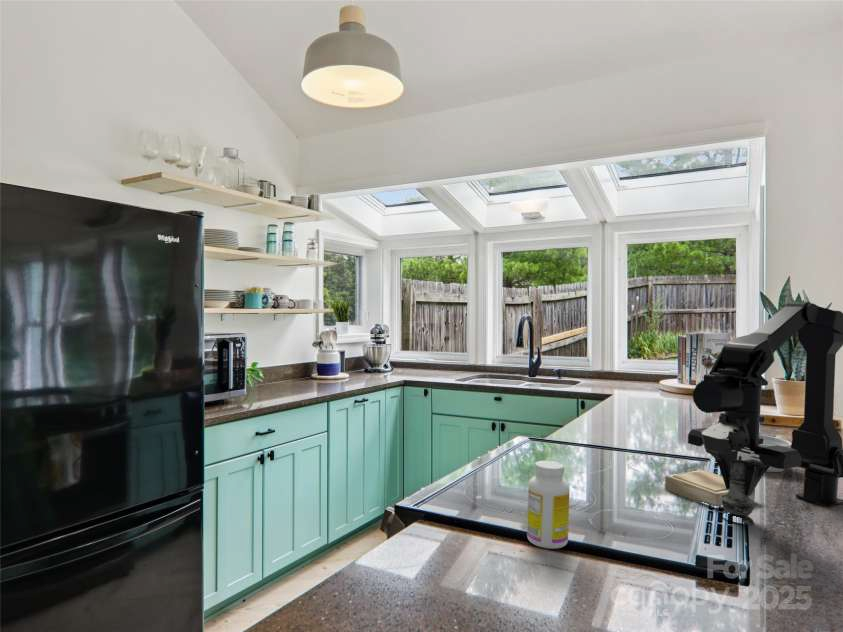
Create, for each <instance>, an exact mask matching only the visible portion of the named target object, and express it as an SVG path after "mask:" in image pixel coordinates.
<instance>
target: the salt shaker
mask: <svg viewBox="0 0 843 632" xmlns="http://www.w3.org/2000/svg"><path fill="white" fill-rule="evenodd" d="M738 458H739V459H737V460H734V461H732V462H731V473H730V477H728V479H729V480H730V484H729V492H728V494H725V495H722V496H720V498H721V500H722V504H723V507H724V510H726V512H730V515H732V516H736V517H740V518H742V521H743V522H745V523H747V524H746V525H752V524H754V520H753V519H752V517H750V516H749V515H751V514H752V513H753V511H754V509H755V506H756V505H757V502H756V501H755V500H752V499H750V498H749V496H746V495H745V478H746V467H745V465H744V463H743V460H741V458H742V457H741V456H739V457H738ZM751 523H752V524H751Z"/></svg>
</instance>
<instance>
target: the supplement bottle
mask: <svg viewBox="0 0 843 632" xmlns="http://www.w3.org/2000/svg"><path fill="white" fill-rule="evenodd" d="M534 472H535V476H533V477H532V478H531V479H529V481H528V488H527V490H528V491H527V492H528V493H527V514H526V515H527V519H526V521H527V522H526V537H527V539H528V541H529V543H530V544H533V545H535V546H537V547H539V548H543V549H551V550H555V549H561V548H564V547H565V546H566V545H567V544H568V542H569V523H570V520H569V519H570V484H569V483H568V482H567V480H566V479H564V478H563V475H564V474H565V465H564V464H562V463H561V462H557V461H552V460H538V461H536V462H535V463H534Z"/></svg>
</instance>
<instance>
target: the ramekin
mask: <svg viewBox="0 0 843 632" xmlns="http://www.w3.org/2000/svg"><path fill="white" fill-rule="evenodd" d="M759 438H763V444H759V446H761V447H769V446H775V445H779V446H783V447H787V448H791V445H792V442H790V441H789V440H787V439H784V438H780V437H775V436H771V435H766V434H760V433H759ZM744 448H747V447H744ZM747 449H749V448H747ZM739 456H741V457H742V458H741V460H743V461H744V460H750V454H747V453H743V452H740V451H738V455H737V459H739V458H738V457H739ZM784 470H785V469H778V468H774V467H769V468H768V470H767V471H766V472H769V473H781V472H783V471H784ZM766 472H765V473H766Z"/></svg>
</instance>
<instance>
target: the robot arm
mask: <svg viewBox="0 0 843 632" xmlns="http://www.w3.org/2000/svg"><path fill="white" fill-rule="evenodd" d="M795 334H796V335H797V341H798V342H799V344H800V345H801V347H802V348H803V350H804V351H805V356H806V357H805V383H804V411H803V422H802V423H801V424H800V425H799V426H798V428H797V429H793V430H792V432H791V438H792V439H791V444H792V445H791V448H787V447H783V446H779V445H775V446H769V447H761V446H759V444H763V438H759V434H760V426H761V423H764V422H765V416H763V415H761V407H762V406H761V404H762V386H765V387H766V386H768V384H769V381H768V380H767V379H766V378H764V377H763V376H762V375H764V374H765V373H766V372H767V371H768V369H769V368H770V367H771V366H772V364H773V363H774V362H775V352H776V351H777V350H778V349H779V348H780V347H781V346H783V345H784V344H785V343H786V342H787V341H788V340H789V339H790V338H792V337H793V336H794V335H795ZM842 347H843V312H842V311H840V310H833V309H829V308H826V307H823V306H819V305H817V304H815V303H813V302H812V303H811V301H788V302H786V303H784V304H783V305H782V306H781V309H780V310H778V311H777V312H776V313H775V314H774V315H772V316H771V317H770V318H769V319H768V320H767V321H766V322H764V323H763V324H761V326H759V327H757V329H756V330H755V331H753V332H751V333H750V334H747V335H742V336H737V337H736V338H733V339H732V340H730V341H728V342H726V343H725V344H724V345H723V347H722V349H721V351H720V352H719V355H718V356H717V358H716V360H715V362H714V363H713V366H712V367H711V369H710V370H709V373H708V374H707V373H706V374H704V375H703V380H702V381H700V382H698V383H697V384H696V385H695V387H694V390H693V391H692V400H693V402H694V404H695V406H696V408H697V409H698V410H699V411H701V412H704V413H706V414H711V413H712V414H714V413H720V414H719V416H718V421H717V423H715V424H713V425H711V426H709V427H700V428H693V429H692V428H691V429H690V431H688V434H687V444H690V445H693V446H697V447H699V448H700V447H704V449H705V453H707V454H710V455H711V457H712V458H713V459H715V461H716V463H717V465H718V468H719V471H720V473H721V476H722V477H723V480H724V483H725V486H726V489H729V484H730V480H729V479H728V477H730V473H731V462H732V461H734V460H737V455H738V451H740V452H743V453H747V454H750V460H744V461H743V463H744V465H745V467H746V478H745V495H746V496H750V495H751V494H752V492H753V491H754V489H755V490H756V487H757V486H758V485H759V482H760V481H761V479H762V478H763V476H764V475H765V474H766V471H767V470H768V468H769V467H774V468H778V469H784V470H787V469H793V468H800V469H804V479H803V490H802V492H800V493H799V492H798V493H795V497H796V498H798V499H803V500H805V501H808V502H812V503H815V504H817V505H820V506H824V507H827V508H828V507H829V508H830V507H833V506H834V507H835V506H838V505H842V504H843V499H841V498H838V492H839V489H838V488H839V486H838V485H839V479H840V478H842V479H843V438H842V436H841V435H840V433H839V431H838V429H837V428H836V426H835V425H834V407H835V406H834V403H835V402H834V400H835V380H836V379H835V378H836V375H835V374H836V357H837V356H836V354H838V352H839V351H840V349H841V348H842ZM744 447H747V448H749V449H747V448H744Z"/></svg>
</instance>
